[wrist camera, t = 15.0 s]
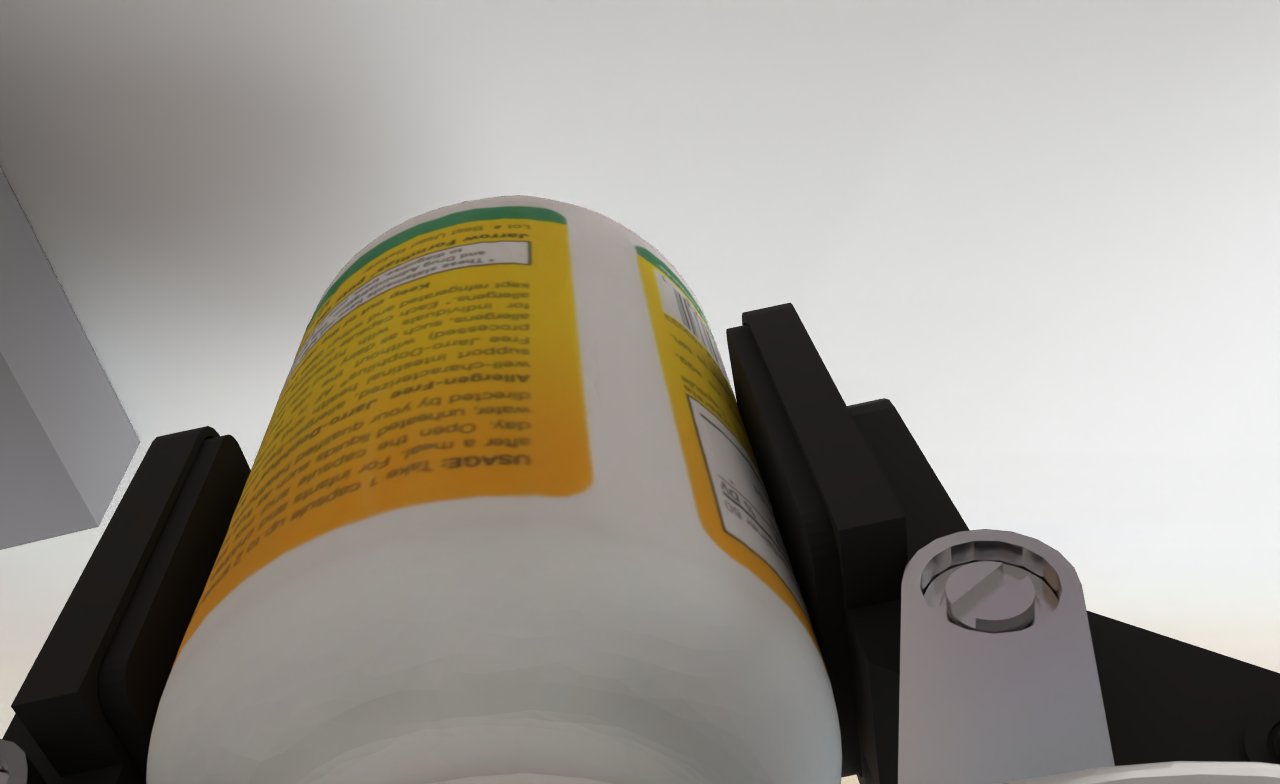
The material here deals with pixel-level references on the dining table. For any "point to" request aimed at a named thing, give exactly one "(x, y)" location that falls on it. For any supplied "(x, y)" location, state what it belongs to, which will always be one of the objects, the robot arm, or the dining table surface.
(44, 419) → the block
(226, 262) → the dining table surface
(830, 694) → the supplement bottle
